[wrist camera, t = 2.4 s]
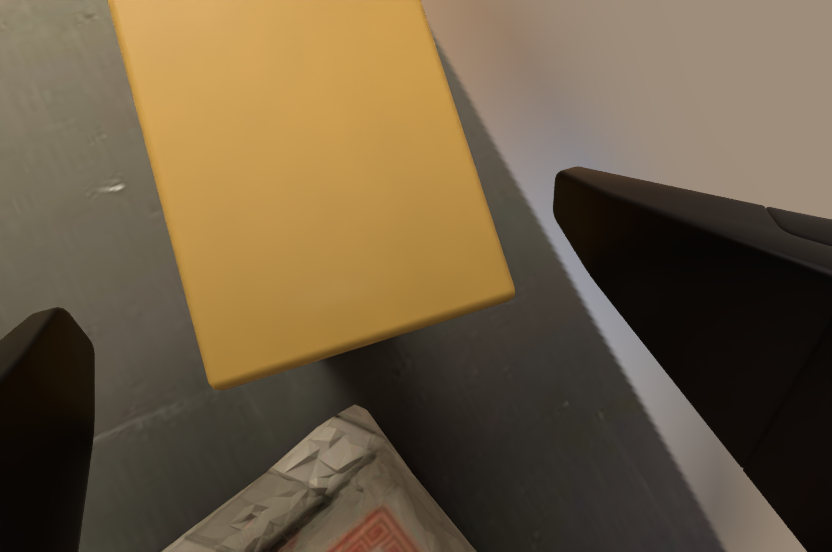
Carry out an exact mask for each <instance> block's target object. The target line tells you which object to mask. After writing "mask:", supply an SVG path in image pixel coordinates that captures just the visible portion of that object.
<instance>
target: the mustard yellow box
mask: <svg viewBox="0 0 832 552" xmlns="http://www.w3.org/2000/svg"><path fill="white" fill-rule="evenodd" d="M107 1H108V5H109V8H110V12H111V16H112V20H113V23H114V27H115V31H116V35H117V39H118V42H119V46H120V50H121V54H122V58H123V61H124V65H125V69H126V73H127V76H128V80H129V84H130V88H131V92H132V95H133V99H134V103H135V107H136V110H137V114H138V118H139V122H140V126H141V129H142V133H143V137H144V141H145V145H146V148H147V152H148V156H149V160H150V163H151V167H152V171H153V175H154V179H155V182H156V186H157V190H158V194H159V197H160V201H161V205H162V209H163V213H164V216H165V220H166V224H167V228H168V232H169V235H170V239H171V243H172V247H173V250H174V254H175V258H176V262H177V266H178V269H179V273H180V277H181V281H182V284H183V288H184V292H185V296H186V300H187V303H188V307H189V311H190V315H191V319H192V322H193V326H194V330H195V334H196V337H197V341H198V345H199V349H200V353H201V356H202V360H203V364H204V368H205V371H206V375H207V379H208V383H209V384H210V385H211V387H212V388H213V389H214V390H226V389H229V388H232V387H235V386H239V385H242V384H245V383H248V382H251V381H255V380H258V379H261V378H264V377H267V376H271V375H274V374H277V373H280V372H283V371H287V370H290V369H293V368H296V367H299V366H303V365H306V364H309V363H312V362H315V361H319V360H322V359H325V358H328V357H332V356H335V355H338V354H341V353H344V352H348V351H351V350H354V349H357V348H360V347H364V346H367V345H370V344H373V343H376V342H380V341H383V340H386V339H389V338H392V337H396V336H399V335H402V334H405V333H408V332H412V331H415V330H418V329H421V328H425V327H428V326H431V325H434V324H437V323H441V322H444V321H447V320H450V319H453V318H457V317H460V316H463V315H466V314H469V313H473V312H476V311H479V310H482V309H485V308H489V307H492V306H495V305H498V304H501V303H505V302H508V301H509V300H511V299H512V298H513V297H514V295H515V287H514V284H513V281H512V278H511V275H510V272H509V269H508V266H507V263H506V260H505V257H504V254H503V251H502V248H501V245H500V242H499V239H498V235H497V232H496V229H495V226H494V223H493V220H492V217H491V214H490V211H489V208H488V205H487V202H486V199H485V196H484V193H483V190H482V187H481V183H480V180H479V177H478V174H477V171H476V168H475V165H474V162H473V159H472V156H471V153H470V150H469V147H468V144H467V141H466V138H465V135H464V131H463V128H462V125H461V122H460V119H459V116H458V113H457V110H456V107H455V104H454V101H453V98H452V95H451V92H450V89H449V86H448V83H447V79H446V76H445V73H444V70H443V67H442V64H441V61H440V58H439V55H438V52H437V49H436V46H435V43H434V40H433V37H432V34H431V31H430V27H429V24H428V21H427V18H426V15H425V12H424V9H423V6H422V3H421V0H107Z"/></svg>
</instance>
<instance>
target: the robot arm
mask: <svg viewBox="0 0 832 552" xmlns="http://www.w3.org/2000/svg"><path fill="white" fill-rule="evenodd" d="M553 213H554V217H555V219H556V221H557V223H558V224H559V226H560V228H561V229H562V230H563V233H564V234H565V236H566V238H567V239H568V241H569V242H570V244H571V246H572V247H573V249H574V251H575V252H576V254H577V255H578V257H579V259H580V260H581V262H582V264H583V265H584V267H585V268H586V270H587V271H588V273H589V274H590V276H591V277H592V279H593V280H594V281H595V283H596V284H597V285H598V287H599V288H600V289H601V290H602V292H603V293H604V294H605V295H606V296H607V298H608V299H609V301H610V302H611V303H612V304H613V306H614V307H615V308H616V309H617V311H618V312H619V313H620V315H621V316H622V317H623V318H624V319H625V321H626V322H627V323H628V325H629V326H630V327H631V328H632V330H633V331H634V332H635V334H636V335H637V336H638V337H639V339H640V340H641V341H642V342H643V344H644V345H645V346H646V347H647V349H648V350H649V351H650V353H651V354H652V355H653V356H654V358H655V359H656V360H657V361H658V363H659V364H660V365H661V366H662V368H663V369H664V370H665V372H666V373H667V374H668V375H669V377H670V378H671V379H672V380H673V382H674V383H675V384H676V386H677V387H678V388H679V389H680V391H681V392H682V393H683V394H684V396H685V397H686V398H687V399H688V401H689V402H690V403H691V405H692V406H693V407H694V408H695V410H696V411H697V412H698V413H699V415H700V416H701V417H702V418H703V420H704V421H705V422H706V423H707V425H708V426H709V427H710V429H711V430H712V431H713V432H714V434H715V435H716V436H717V437H718V439H719V440H720V441H721V442H722V444H723V445H724V446H725V448H726V449H727V450H728V451H729V453H730V454H731V455H732V456H733V458H734V459H735V460H736V462H737V463H738V464H739V465H740V467H742V468H743V471H744V472H745V473H746V475H747V476H748V477H749V478H750V480H751V481H752V482H753V484H754V485H755V486H756V487H757V489H758V490H759V491H760V492H761V494H762V495H763V496H764V498H765V499H766V500H767V501H768V503H769V504H770V505H771V506H772V508H773V509H774V510H775V511H776V513H777V514H778V515H779V517H780V518H781V519H782V520H783V522H784V523H785V524H786V525H787V527H788V528H789V529H790V530H791V532H792V533H793V534H794V535H795V537H796V538H797V539H798V541H799V542H800V543H801V544H802V546H803V547H804V548H805V549H806V551H807V552H832V219H826V218H821V217H816V216H811V215H806V214H801V213H796V212H791V211H786V210H782V209H777V208H772V207H767V208H765V207H764V206H762V205H757V204H753V203H748V202H743V201H739V200H734V199H729V198H725V197H720V196H715V195H710V194H706V193H700V192H696V191H692V190H687V189H682V188H677V187H673V186H668V185H663V184H659V183H654V182H649V181H644V180H640V179H635V178H630V177H626V176H621V175H616V174H611V173H606V172H602V171H597V170H592V169H588V168H583V167H573V168H569V169H566V170H562V171H560V172H559V173H558V174H557V175H556V178H555V187H554V201H553ZM94 421H95V353H94V348H93V345H92V343H91V341H90V339H89V338H88V337H87V335H86V334H85V333H84V331H83V330H82V329H81V328H80V326H79V325H78V324H77V323H76V321H75V320H74V319H73V317H72V316H71V315H70V314H69V313H68V312H67V311H66V310H65V309H63V308H59V307H56V308H52V309H48V310H44V311H41V312H37V313H34V314H32V315H30V316H29V317H28V318H27V319H26V320H24V321H23V322H22V323H21V324H19V325H18V326H17V327H16V328H15V329H13V330H12V331H11V332H10V333H9V334H7V335H6V336H5V337H4V338H3V339H1V340H0V552H78V550H79V542H80V535H81V527H82V520H83V513H84V505H85V498H86V490H87V483H88V475H89V468H90V460H91V453H92V446H93V436H94Z"/></svg>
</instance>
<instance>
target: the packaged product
mask: <svg viewBox="0 0 832 552" xmlns="http://www.w3.org/2000/svg"><path fill="white" fill-rule="evenodd" d="M162 552H476V550H475V549H474V548H473V547H472V546H471V544H470V543H469V542H468V541H467V539H466V538H465V537H464V536H463V535H462V533H461V532H460V531H459V530H458V528H457V527H456V526H455V525H454V524H453V522H452V521H451V520H450V519H449V517H448V516H447V515H446V514H445V513H444V511H443V510H442V509H441V508H440V506H439V505H438V504H437V503H436V502H435V500H434V499H433V498H432V497H431V496H430V494H429V493H428V492H427V491H426V489H425V488H424V487H423V486H422V485H421V483H420V482H419V481H418V480H417V478H416V477H415V476H414V475H413V474H412V472H411V471H410V469H409V468H408V467H407V465H406V464H405V462H404V461H403V460H402V458H401V457H400V455H399V454H398V453H397V451H396V450H395V448H394V447H393V446H392V444H391V443H390V441H389V440H388V439H387V437H386V436H385V434H384V433H383V432H382V430H381V429H380V427H379V426H378V425H377V423H376V422H375V420H374V419H373V418H372V416H371V415H370V413H369V412H368V411H367V410H366V409H364V408H362V407H360V406H357V405H353V406H351V407H349V408H348V409H346V410H344V411H342V412H340V413H339V414H337V415H336V416H334V417H333V418H331V419H329V420H328V421H326V422H325V423H323V424H322V425H320V426H318V427H317V428H316V429H315V430H314V431H312V432H311V433H310V434H309V435H308V436H307V437H306V438H304V439H303V440H302V441H301V442H300V443H299V444H298V445H297V446H295V447H294V448H293V449H292V450H291V451H290V452H289V453H287V454H286V455H285V456H284V457H283V458H282V459H281V460H279V461H278V462H277V463H276V464H275V465H274V466H273V467H272V468H270V469H269V470H268V471H267V472H266V473H265V474H263V475H262V476H261V477H259V478H258V479H257V480H255V481H254V482H253V483H251V484H250V485H249V486H247V487H246V488H245V489H243V490H242V491H241V492H239V493H238V494H237V495H235V496H234V497H233V498H231V499H230V500H229V501H227V502H226V503H225V504H223V505H222V506H221V507H219V508H218V509H217V510H215V511H214V512H213V513H211V514H210V515H209V516H207V517H206V518H205V519H203V520H202V521H201V522H199V523H198V524H197V525H195V526H194V527H193V528H191V529H190V530H189V531H187V532H186V533H185V534H183V535H182V536H181V537H180V538H179V539H177V540H176V541H175V542H173V543H172V544H171V545H169V546H168V547H167V548H166V549H164V550H163V551H162Z"/></svg>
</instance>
